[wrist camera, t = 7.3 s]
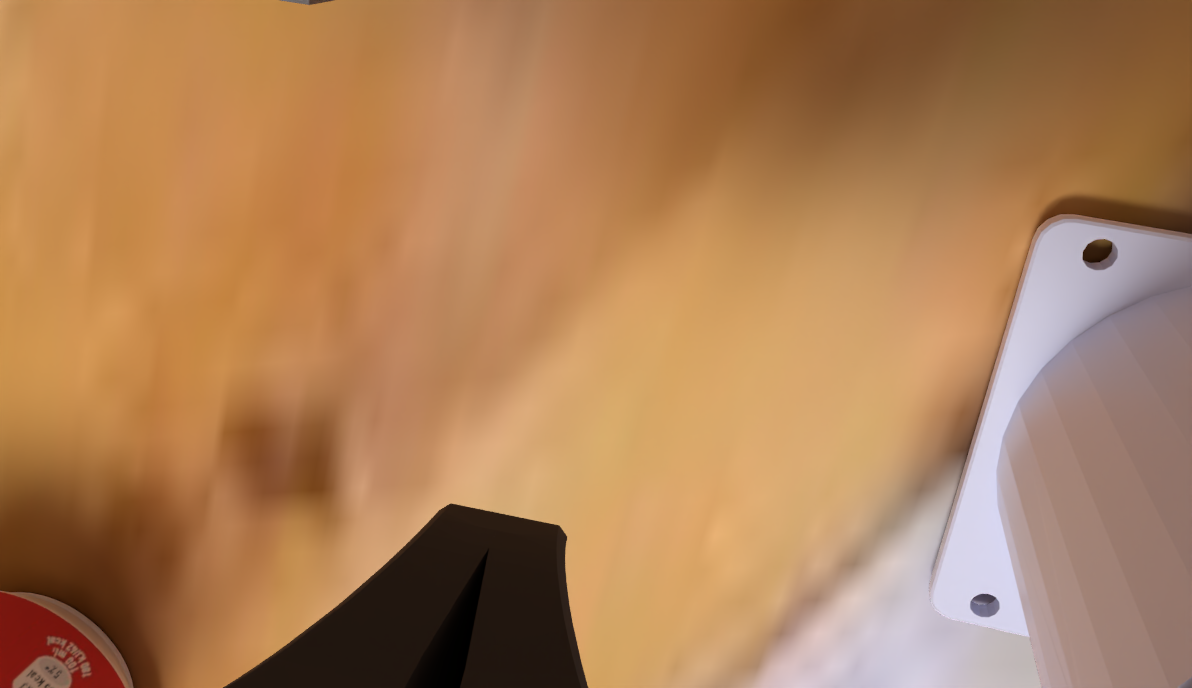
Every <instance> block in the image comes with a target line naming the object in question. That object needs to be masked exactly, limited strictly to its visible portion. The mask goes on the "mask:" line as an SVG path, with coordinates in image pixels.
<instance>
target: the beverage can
mask: <svg viewBox="0 0 1192 688" xmlns="http://www.w3.org/2000/svg"><path fill="white" fill-rule="evenodd" d="M0 688H133V683H132V678H131V675H130V672H129V670H128V668H127V665H126V663H125V661H124V659H123V658H122V656H121V654H120V653H119V651H118V650H117V648H116V647H115V645H114V644H113V643H112V641H111V640H110V639H109V638H108V637H107V635H106V634H105V633H104V632H103V631H102V630H101V629H100V628H99V627H98V626H97V625H95V624H94V623H93V622H92V621H91V620H89V619H88V618H87V617H85V616H84V615H83V614H81V613H80V612H78V611H77V610H75V609H73V608H72V607H70V606H68V605H66V604H64V603H62V602H60V601H58V600H55V599H52V598H50V597H47V596H43V595H39V594H34V593H26V592H11V593H10V592H5V591H0Z"/></svg>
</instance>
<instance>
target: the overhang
mask: <svg viewBox="0 0 1192 688" xmlns="http://www.w3.org/2000/svg"><path fill="white" fill-rule="evenodd" d="M281 1H288V2H294V3H301V4H307V5H311V4H316V3H322V2H327V1H333V0H281Z"/></svg>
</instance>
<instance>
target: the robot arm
mask: <svg viewBox="0 0 1192 688" xmlns="http://www.w3.org/2000/svg"><path fill="white" fill-rule="evenodd" d="M1097 239H1107V240H1109V241H1111V242H1112V251H1111V253H1110V254H1109V256H1108V257H1107V258H1106V259H1104V260H1103V261H1101V262H1098V263H1089V262H1087V261H1085V260H1083V251H1084V249H1085V247H1086V246H1087V244H1089V243H1091V242H1092V241H1094V240H1097ZM566 541H567V536H566V534H565V533H564V532H563V530H562V529H561V527H560V526H559V525H554V524H549V523H544V522H539V521H534V520H529V519H524V518H519V517H514V516H509V515H505V514H500V513H495V512H490V511H485V510H480V509H475V508H470V507H465V506H460V505H455V504H449V505H447V506H446V507H444V508H442V509H441V510H439V511H438V512H437V513H436V515H435V516H434V517H433V518H432V519H431V520H430V521H429V522H428V523H427V524H426V525H425V526H424V527H423V528H422V529H421V530H420V531H419V532H418V533H417V534H416V535H415V536H414V537H413V538H412V539H411V540H410V541H409V542H408V543H407V544H406V545H405V546H404V547H403V548H402V549H401V550H400V551H399V552H398V553H397V554H396V555H395V556H394V557H393V558H391V559H390V560H389V561H388V562H387V563H386V564H385V565H384V566H383V567H382V568H381V569H380V570H378V571H377V572H376V573H375V574H374V575H373V576H371V577H370V578H369V579H368V580H367V581H366V582H365V583H363V584H362V585H361V586H360V587H359V588H358V589H356V590H355V591H354V592H353V593H352V594H351V595H350V596H348V597H347V598H346V599H345V600H344V601H343V602H341V603H340V604H339V605H338V606H336V607H335V608H334V609H333V610H332V611H330V612H329V613H328V614H326V615H325V616H324V617H322V618H321V619H320V620H318V621H317V622H316V623H315V624H313V625H312V626H311V627H309V628H308V629H307V630H305V631H304V632H303V633H301V634H300V635H299V636H298V637H296V638H295V639H294V640H292V641H291V642H290V643H288V644H287V645H286V646H284V647H283V648H282V649H280V650H279V651H277V652H276V653H275V654H273V655H272V656H270V657H269V658H267V659H266V660H265V661H263V662H262V663H260V664H259V665H257V666H256V667H254V668H253V669H251V670H250V671H248V672H247V673H245V674H244V675H242V676H241V677H239V678H238V679H236V680H235V681H233V682H231V683H230V684H228V685H227V686H225V687H223V688H588V686H587V682H586V678H585V675H584V671H583V667H582V664H581V659H580V655H579V650H578V646H577V641H576V637H575V632H574V628H573V623H572V618H571V612H570V606H569V599H568V591H567V583H566V572H565V547H566ZM979 594H990V595H992V596H994V597H996V598H995V600H994V601H993V602H991V603H989V604H987V605H979V604H977V603H974V602H972V601H971V600H972V599H973V598H974V597H975V596H977V595H979ZM929 595H930V601H931V603H932V606H933V608H934V609H935V610H936V611H937V612H938V613H939V614H940V615H942V616H944V617H947V618H949V619H952V620H957V621H961V622H965V623H970V624H974V625H979V626H983V627H987V628H992V629H996V630H1000V631H1005V632H1009V633H1013V634H1018V635H1022V636H1027V637H1030V641H1031V645H1032V649H1033V654H1034V658H1035V662H1036V666H1037V670H1038V674H1039V678H1040V682H1041V686H1042V688H1192V234H1188V233H1182V232H1176V231H1170V230H1165V229H1159V228H1153V227H1147V226H1141V225H1135V224H1129V223H1123V222H1117V221H1111V220H1105V219H1100V218H1094V217H1088V216H1082V215H1076V214H1060V215H1057V216H1054V217H1052V218H1049V219H1047V220H1046V221H1045V222H1044V223H1043V224H1041V225H1040V226H1039V227H1038V229H1037V231H1036V233H1035V234H1034V236H1033V239H1032V242H1031V245H1030V249H1029V252H1028V255H1027V259H1026V262H1025V265H1024V269H1023V272H1022V275H1021V279H1020V282H1019V285H1018V289H1017V292H1016V295H1015V299H1014V302H1013V305H1012V309H1011V312H1010V316H1009V319H1008V322H1007V326H1006V329H1005V332H1004V336H1003V339H1002V342H1001V346H1000V349H999V352H998V356H997V359H996V362H995V366H994V369H993V372H992V376H991V379H990V382H989V386H988V389H987V392H986V396H985V399H984V402H983V406H982V409H981V412H980V416H979V419H978V422H977V426H976V429H975V432H974V436H973V439H972V442H971V446H970V449H969V452H968V456H967V459H966V462H965V466H964V469H963V472H962V476H961V479H960V483H959V486H958V489H957V493H956V496H955V499H954V503H953V506H952V509H951V513H950V516H949V519H948V523H947V526H946V529H945V533H944V536H943V539H942V543H941V546H940V549H939V553H938V556H937V559H936V563H935V566H934V569H933V573H932V576H931V579H930V583H929Z"/></svg>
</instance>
